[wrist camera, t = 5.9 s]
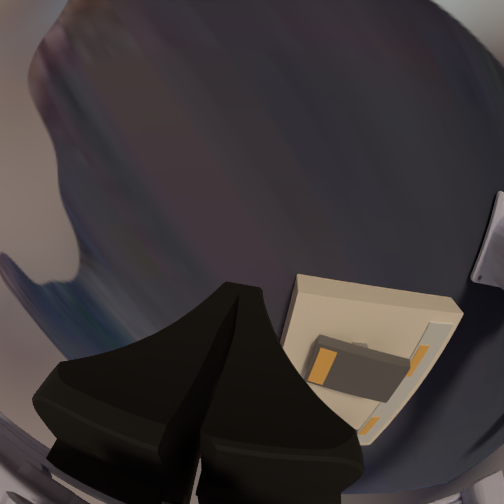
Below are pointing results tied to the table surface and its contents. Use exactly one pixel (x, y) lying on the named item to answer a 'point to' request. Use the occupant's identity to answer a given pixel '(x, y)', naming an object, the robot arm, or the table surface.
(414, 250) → the table surface
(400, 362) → the block
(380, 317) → the switch console
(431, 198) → the table surface
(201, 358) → the robot arm
